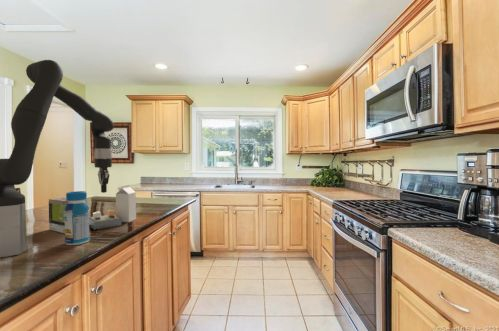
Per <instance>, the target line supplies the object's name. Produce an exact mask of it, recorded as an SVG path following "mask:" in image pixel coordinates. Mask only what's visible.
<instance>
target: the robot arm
mask: <svg viewBox="0 0 499 331" xmlns="http://www.w3.org/2000/svg"><path fill="white" fill-rule="evenodd" d="M25 72H26V73H25V74H26V76H27V77H28V79H29V80H30V81H31V82H32V83H33V86H32V88H30V91H29V92H27V93H26V95H25V96H24V97H23V98H22V99H21V100H20V102H19V103H18V105H17V106H16V107H15V109H14V114H13V115H12V118H11V120H10V121H11V122H10V127H11V131H12V135H13V138H14V145H13V148H12V151H11V153H10V156H9V158H0V259H1V257H2V258H7V257H11V256H13V257H14V256H17V255H22V253H24V252H26V251H27V250H28V249H27V222H26V221H27V220H26V219H27V217H26V216H27V215H26V197H25V195H24V194H23V193H20V192H19V191H18V190H17V189H16V188H15V187H16V186H19V185H23V184H24V183H25V182H27V181H28V179H29V177H30V176H31V174H32V169H33V166H34V165H33V164H34V159H35V156H36V155H35V154H36V151H37V147H38V144H39V140H40V137H41V135H42V134H41V133H42V130H43V128H44V126H45V123H46V120H47V116H48V115H49V114H48V113H49V110H50V108H51V105H52V102H53V100H54V99H53V98H56V99H57V100H59V101H60V102H62V103H64V104H66V106H68V107H69V108H70V109H72V110H73V111H74V112H75V113H76V114H77V115H79V116H80V117H81V118H83V119H84V120H85V121H87V122H88V121H89V122H90V129H91V133H92V137H93V140H94V152H93V154H94V156H93V158H94V168H99V169H98V171H97V176H98V182H99V185H100V192H101V193H107V192H108V191H107V189H108V188H107V187H108V186H107V185H108V184H109V179H110V174H109V173H110V172H109V170H108V169H109V168H111V167H112V166H113V163H112V160H113V159H112V147H111V146H112V144H111V143H112V142H111V138H110V137H108V136H106V134H105V133H109V132H111V131H112V130H114V127H115V125H114V124H115V123H114V121H113V120H112V119H111V118H110V116H108V115H106V114H105V113H103V112H102V111H100V110H98V109H97V108H96V107H94V106H93V105H92V104H91V103H90V102H89V101H88V100H87V99H85V98H84V97H82V96H80V95H79V94H77V93H76V92H75V93H74V92H72V91H71V90H69V89H67V88H66V87H64V86H62V84H61V83H62V81H63V79H64V78H63V76H64V73H63V72H64V71H63V69H62V67H61V65H60V64H59V63H58V62H57V61H55V60H51V59H43V60H39V61H36V62H32V63H31V64H29V65H28V66H26V69H25Z"/></svg>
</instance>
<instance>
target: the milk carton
mask: <svg viewBox="0 0 499 331" xmlns="http://www.w3.org/2000/svg"><path fill="white" fill-rule="evenodd" d="M136 196H137V195H136V191H135V190H134V189H133V188H132V187H131V186H130V184H128V185H121V188H120V189H119V191H117V192H116V193H115V211H116V214H115V215H116V216H118V217H119V218H121V223H131V222H134V221H135V220H137V197H136Z"/></svg>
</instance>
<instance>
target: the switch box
mask: <svg viewBox="0 0 499 331" xmlns="http://www.w3.org/2000/svg"><path fill="white" fill-rule="evenodd" d="M120 226H122V222H121V218H119V217H118V216H116V214H115V215H108V214H105V215H102V216H100V217H96V218H94V217H93V216H89V228H91V229H92V230H93V231H96V229H97V230H102V229H110V228H114V227H120Z"/></svg>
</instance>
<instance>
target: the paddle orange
mask: <svg viewBox="0 0 499 331" xmlns="http://www.w3.org/2000/svg"><path fill="white" fill-rule="evenodd" d="M106 212H107V213H106V215H116V210H114V209H111V210H110V209H107V211H106Z"/></svg>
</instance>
